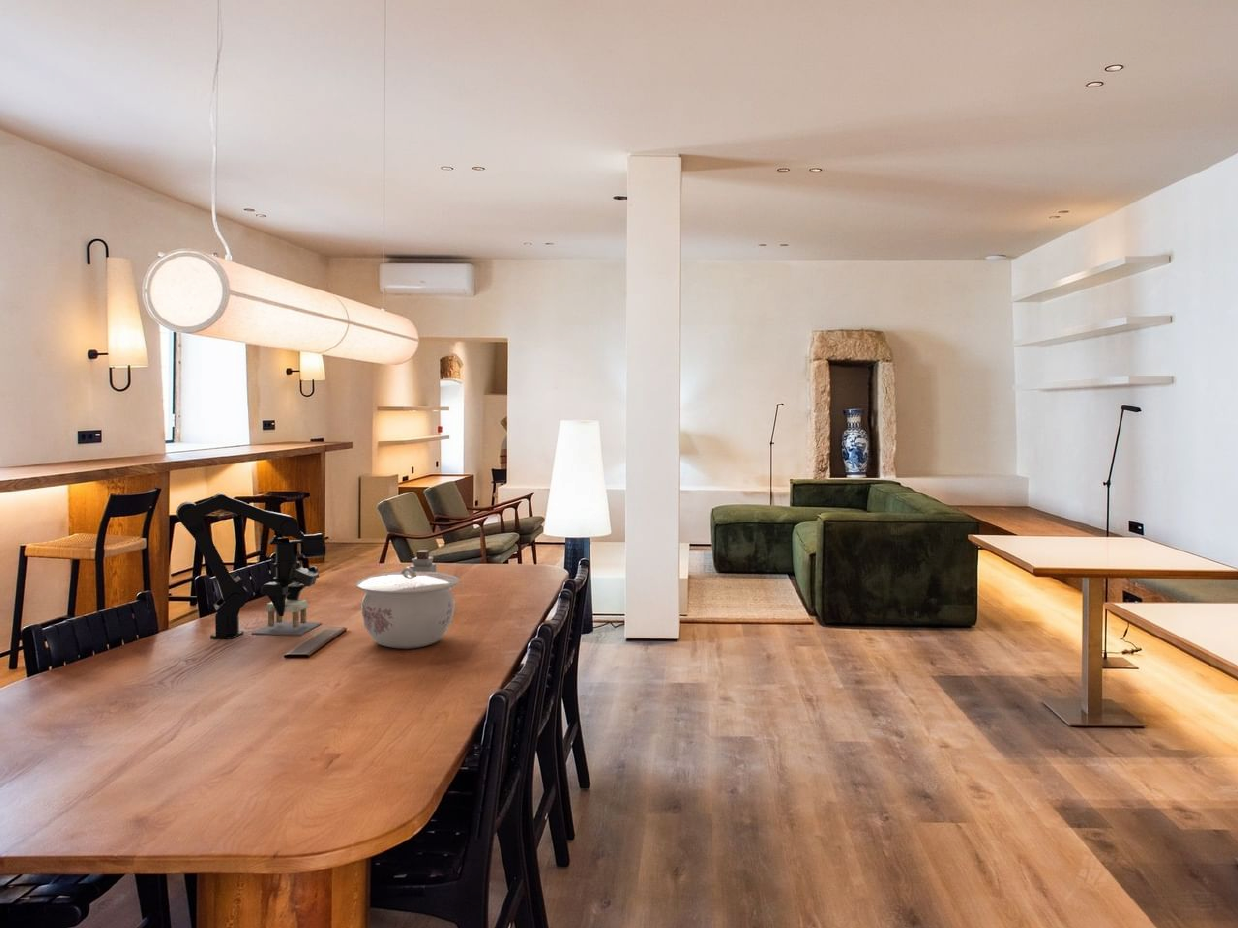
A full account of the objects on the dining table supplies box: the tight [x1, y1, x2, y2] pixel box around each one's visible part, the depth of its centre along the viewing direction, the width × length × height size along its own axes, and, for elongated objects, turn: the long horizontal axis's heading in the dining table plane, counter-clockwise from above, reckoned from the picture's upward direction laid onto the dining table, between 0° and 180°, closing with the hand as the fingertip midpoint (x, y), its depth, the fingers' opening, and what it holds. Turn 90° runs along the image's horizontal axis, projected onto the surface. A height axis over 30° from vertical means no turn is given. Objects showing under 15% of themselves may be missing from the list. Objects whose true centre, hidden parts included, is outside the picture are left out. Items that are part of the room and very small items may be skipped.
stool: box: [266, 599, 308, 628], centre depth 245 cm, size 9×6×6 cm
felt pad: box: [251, 621, 323, 637], centre depth 246 cm, size 14×14×1 cm
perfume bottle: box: [408, 549, 437, 572], centre depth 276 cm, size 7×7×18 cm
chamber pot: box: [355, 566, 461, 650], centre depth 232 cm, size 28×28×21 cm
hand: (287, 613), depth 245 cm, fingers closed on stool, 6 cm apart
